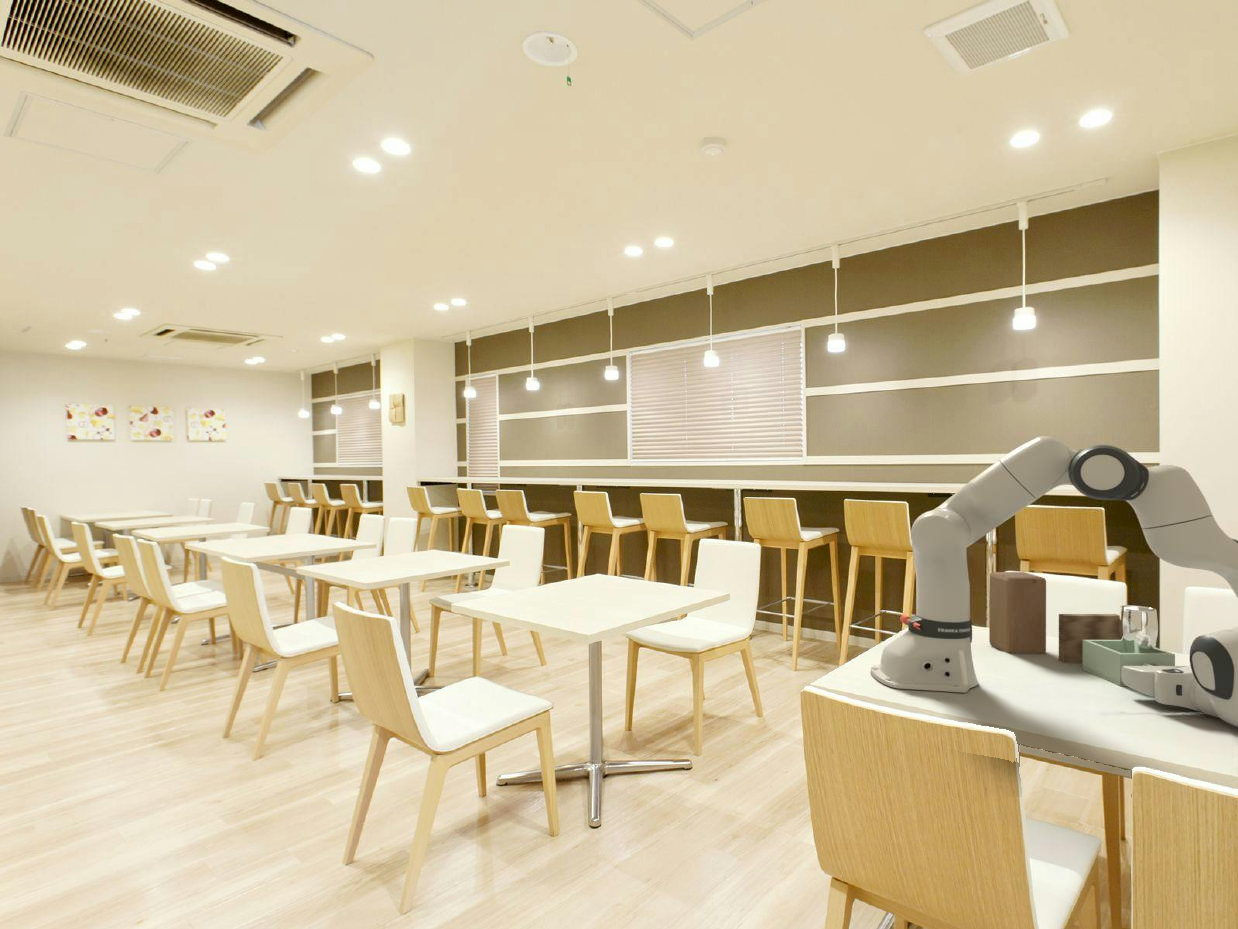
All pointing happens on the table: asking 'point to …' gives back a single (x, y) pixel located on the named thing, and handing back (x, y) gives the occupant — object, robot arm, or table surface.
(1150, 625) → the beer glass
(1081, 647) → the box
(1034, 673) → the table surface
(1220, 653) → the robot arm
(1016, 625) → the wooden block
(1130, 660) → the sage green storage bin
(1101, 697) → the table surface
